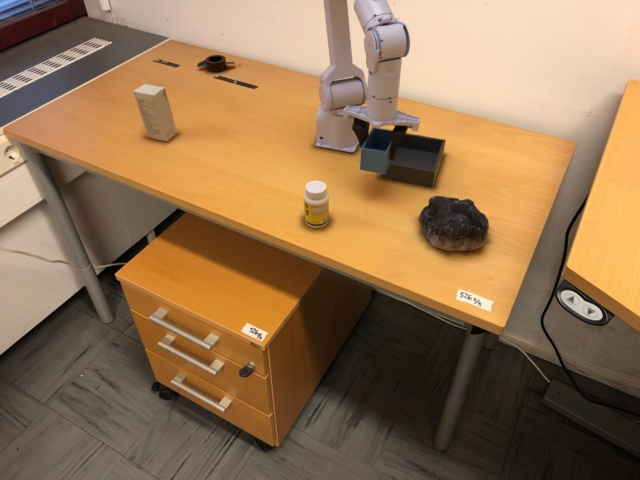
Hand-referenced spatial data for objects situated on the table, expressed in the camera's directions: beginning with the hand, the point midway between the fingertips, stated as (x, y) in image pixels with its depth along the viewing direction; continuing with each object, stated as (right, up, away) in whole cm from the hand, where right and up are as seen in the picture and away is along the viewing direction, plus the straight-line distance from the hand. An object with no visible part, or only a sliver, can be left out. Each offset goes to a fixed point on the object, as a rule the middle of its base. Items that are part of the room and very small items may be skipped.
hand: (378, 154), depth 104 cm
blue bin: (0, -1, +1) cm, 1 cm away
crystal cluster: (+14, -16, -5) cm, 22 cm away
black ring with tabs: (-43, +34, +50) cm, 74 cm away
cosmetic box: (-51, +8, +23) cm, 56 cm away
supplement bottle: (-12, -13, -2) cm, 18 cm away
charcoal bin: (+9, -1, +12) cm, 15 cm away
